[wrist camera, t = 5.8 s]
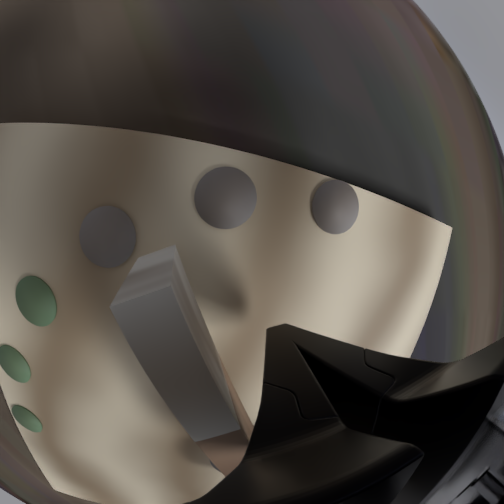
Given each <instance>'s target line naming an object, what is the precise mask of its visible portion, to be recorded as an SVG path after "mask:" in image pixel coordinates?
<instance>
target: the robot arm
mask: <svg viewBox="0 0 504 504" xmlns="http://www.w3.org/2000/svg"><path fill="white" fill-rule="evenodd" d="M183 504H504V337H503V338H501V339H500V340H498V341H496V342H494V343H493V344H491V345H489V346H487V347H485V348H484V349H482V350H480V351H478V352H476V353H474V354H472V355H470V356H468V357H466V358H464V359H461V360H459V361H455V362H449V363H440V362H432V361H425V360H419V359H412V358H406V357H400V356H395V355H390V354H386V353H382V352H378V351H374V350H370V349H367V348H366V349H364V348H363V347H360V346H356V345H353V344H350V343H346V342H343V341H340V340H336V339H333V338H330V337H327V336H323V335H320V334H317V333H314V332H311V331H308V330H305V329H302V328H299V327H296V326H293V325H290V324H287V323H284V324H280V325H277V326H273V327H269V328H267V329H266V342H265V357H264V371H263V385H262V395H261V402H260V407H259V411H258V415H257V419H256V422H255V425H254V428H253V431H252V434H251V437H250V441H249V444H248V447H247V449H246V452H245V454H244V457H243V459H242V460H241V462H240V464H239V465H238V466H237V467H236V468H235V469H234V470H233V471H232V472H230V473H229V474H228V475H227V476H226V477H225V478H224V479H223V480H222V481H220V482H219V483H218V484H217V485H216V486H215V487H214V488H212V489H211V490H210V491H209V492H208V493H206V494H205V495H203V496H202V497H200V498H198V499H196V500H193V501H190V502H186V503H183Z"/></svg>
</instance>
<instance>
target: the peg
mask: <svg viewBox="0 0 504 504" xmlns="http://www.w3.org/2000/svg"><path fill="white" fill-rule="evenodd" d="M110 309H111V311H112V313H113V315H114V317H115V319H116V321H117V323H118V325H119V327H120V329H121V331H122V333H123V335H124V336H125V338H126V340H127V342H128V344H129V345H130V347H131V349H132V351H133V353H134V354H135V356H136V358H137V359H138V361H139V363H140V364H141V366H142V368H143V369H144V371H145V373H146V374H147V376H148V377H149V379H150V381H151V382H152V384H153V385H154V387H155V388H156V390H157V391H158V393H159V394H160V396H161V397H162V399H163V400H164V402H165V403H166V404H167V406H168V407H169V409H170V410H171V412H172V413H173V414H174V416H175V417H176V418H177V420H178V421H179V422H180V424H181V425H182V426H183V428H184V429H185V430H186V432H187V433H188V434H189V435H190V437H191V438H192V439H193V440H194V442H195V443H196V444H197V445H198V446H199V448H200V449H201V450H202V451H203V452H204V454H205V455H206V456H207V457H208V458H209V459H210V460H211V462H212V463H213V464H214V465H215V466H216V467H217V468H218V469H219V470H220V471H221V473H222V474H223V475H224V476H225V477H226V476H227V475H228V474H229V473H230V472H232V471H233V470H234V469H235V468H236V467H237V466H238V465H239V464H240V462H241V460H242V459H243V457H244V454H245V452H246V449H247V447H248V444H249V441H250V437H251V434H252V431H253V428H254V426H253V424H252V422H251V420H250V418H249V416H248V414H247V412H246V410H245V408H244V406H243V404H242V402H241V400H240V398H239V396H238V394H237V392H236V390H235V388H234V386H233V384H232V382H231V379H230V377H229V375H228V373H227V371H226V369H225V367H224V364H223V362H222V360H221V358H220V355H219V353H218V351H217V349H216V346H215V344H214V342H213V340H212V337H211V335H210V333H209V330H208V328H207V325H206V323H205V321H204V318H203V316H202V313H201V311H200V308H199V306H198V304H197V301H196V299H195V296H194V293H193V291H192V288H191V286H190V283H189V280H188V278H187V275H186V273H185V270H184V267H183V264H182V262H181V259H180V256H179V253H178V251H177V248H176V245H172V246H169V247H167V248H164V249H161V250H158V251H155V252H153V253H150V254H147V255H144V256H142V257H139V258H138V259H137V261H136V262H135V264H134V265H133V267H132V269H131V270H130V272H129V274H128V275H127V277H126V279H125V280H124V282H123V284H122V286H121V287H120V289H119V291H118V292H117V294H116V296H115V298H114V299H113V301H112V303H111V305H110Z"/></svg>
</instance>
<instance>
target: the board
mask: <svg viewBox="0 0 504 504" xmlns="http://www.w3.org/2000/svg"><path fill="white" fill-rule="evenodd" d="M451 231H452V227H450V226H448V225H445V224H443V223H441V222H439V221H437V220H435V219H433V218H431V217H429V216H427V215H424V214H422V213H420V212H418V211H415V210H413V209H411V208H409V207H406V206H404V205H402V204H399V203H397V202H395V201H392V200H390V199H387V198H385V197H382V196H380V195H377V194H375V193H372V192H370V191H367V190H364V189H362V188H359V187H356V186H354V185H351V184H348V183H346V182H344V181H341V180H337V179H334V178H331V177H328V176H325V175H322V174H319V173H316V172H313V171H310V170H307V169H304V168H300V167H297V166H294V165H290V164H287V163H284V162H280V161H277V160H273V159H269V158H266V157H262V156H258V155H255V154H251V153H247V152H243V151H239V150H235V149H230V148H226V147H222V146H217V145H213V144H208V143H204V142H199V141H194V140H189V139H183V138H178V137H173V136H167V135H161V134H155V133H148V132H142V131H134V130H127V129H119V128H110V127H100V126H89V125H76V124H59V123H0V385H1V388H2V391H3V394H4V396H5V399H6V401H7V404H8V406H9V409H10V411H11V414H12V416H13V418H14V420H15V422H16V425H17V427H18V429H19V431H20V433H21V435H22V437H23V439H24V441H25V443H26V445H27V447H28V448H29V450H30V452H31V454H32V456H33V457H34V459H35V461H36V462H37V464H38V466H39V467H40V469H41V471H42V472H43V474H44V475H45V477H46V478H47V480H48V481H49V483H50V484H51V486H52V487H53V489H54V490H56V491H59V492H62V493H65V494H68V495H72V496H75V497H78V498H82V499H85V500H89V501H93V502H97V503H101V504H183V503H186V502H190V501H193V500H196V499H198V498H200V497H202V496H203V495H205V494H206V493H208V492H209V491H210V490H211V489H212V488H214V487H215V486H216V485H217V484H218V483H219V482H220V481H222V480H223V479H224V478H225V476H224V475H223V474H222V473H221V471H220V470H219V469H218V468H217V467H216V466H215V465H214V464H213V463H212V462H211V460H210V459H209V458H208V457H207V456H206V455H205V454H204V452H203V451H202V450H201V449H200V448H199V446H198V445H197V444H196V443H195V442H194V440H193V439H192V438H191V437H190V435H189V434H188V433H187V432H186V430H185V429H184V428H183V426H182V425H181V424H180V422H179V421H178V420H177V418H176V417H175V416H174V414H173V413H172V412H171V410H170V409H169V407H168V406H167V404H166V403H165V402H164V400H163V399H162V397H161V396H160V394H159V393H158V391H157V390H156V388H155V387H154V385H153V384H152V382H151V381H150V379H149V377H148V376H147V374H146V373H145V371H144V369H143V368H142V366H141V364H140V363H139V361H138V359H137V358H136V356H135V354H134V353H133V351H132V349H131V347H130V345H129V344H128V342H127V340H126V338H125V336H124V335H123V333H122V331H121V329H120V327H119V325H118V323H117V321H116V319H115V317H114V315H113V313H112V311H111V309H110V305H111V303H112V301H113V299H114V298H115V296H116V294H117V292H118V291H119V289H120V287H121V286H122V284H123V282H124V280H125V279H126V277H127V275H128V274H129V272H130V270H131V269H132V267H133V265H134V264H135V262H136V261H137V259H138V258H139V257H142V256H144V255H147V254H150V253H153V252H155V251H158V250H161V249H164V248H167V247H169V246H172V245H176V248H177V251H178V253H179V256H180V259H181V262H182V264H183V267H184V270H185V273H186V275H187V278H188V280H189V283H190V286H191V288H192V291H193V293H194V296H195V299H196V301H197V304H198V306H199V308H200V311H201V313H202V316H203V318H204V321H205V323H206V325H207V328H208V330H209V333H210V335H211V337H212V340H213V342H214V344H215V346H216V349H217V351H218V353H219V355H220V358H221V360H222V362H223V364H224V367H225V369H226V371H227V373H228V375H229V377H230V379H231V382H232V384H233V386H234V388H235V390H236V392H237V394H238V396H239V398H240V400H241V402H242V404H243V406H244V408H245V410H246V412H247V414H248V416H249V418H250V420H251V422H252V424H253V426H254V425H255V422H256V419H257V415H258V411H259V407H260V402H261V395H262V385H263V371H264V357H265V342H266V329H267V328H269V327H273V326H277V325H280V324H284V323H287V324H290V325H293V326H296V327H299V328H302V329H305V330H308V331H311V332H314V333H317V334H320V335H323V336H327V337H330V338H333V339H336V340H340V341H343V342H346V343H350V344H353V345H356V346H360V347H363V348H364V349H366V348H367V349H370V350H374V351H378V352H382V353H386V354H390V355H395V356H400V357H406V358H410V356H411V354H412V352H413V349H414V347H415V345H416V342H417V340H418V338H419V335H420V333H421V330H422V328H423V325H424V323H425V320H426V318H427V315H428V312H429V309H430V307H431V304H432V301H433V298H434V295H435V292H436V289H437V285H438V282H439V279H440V275H441V272H442V268H443V265H444V261H445V257H446V253H447V249H448V245H449V241H450V236H451Z"/></svg>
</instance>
